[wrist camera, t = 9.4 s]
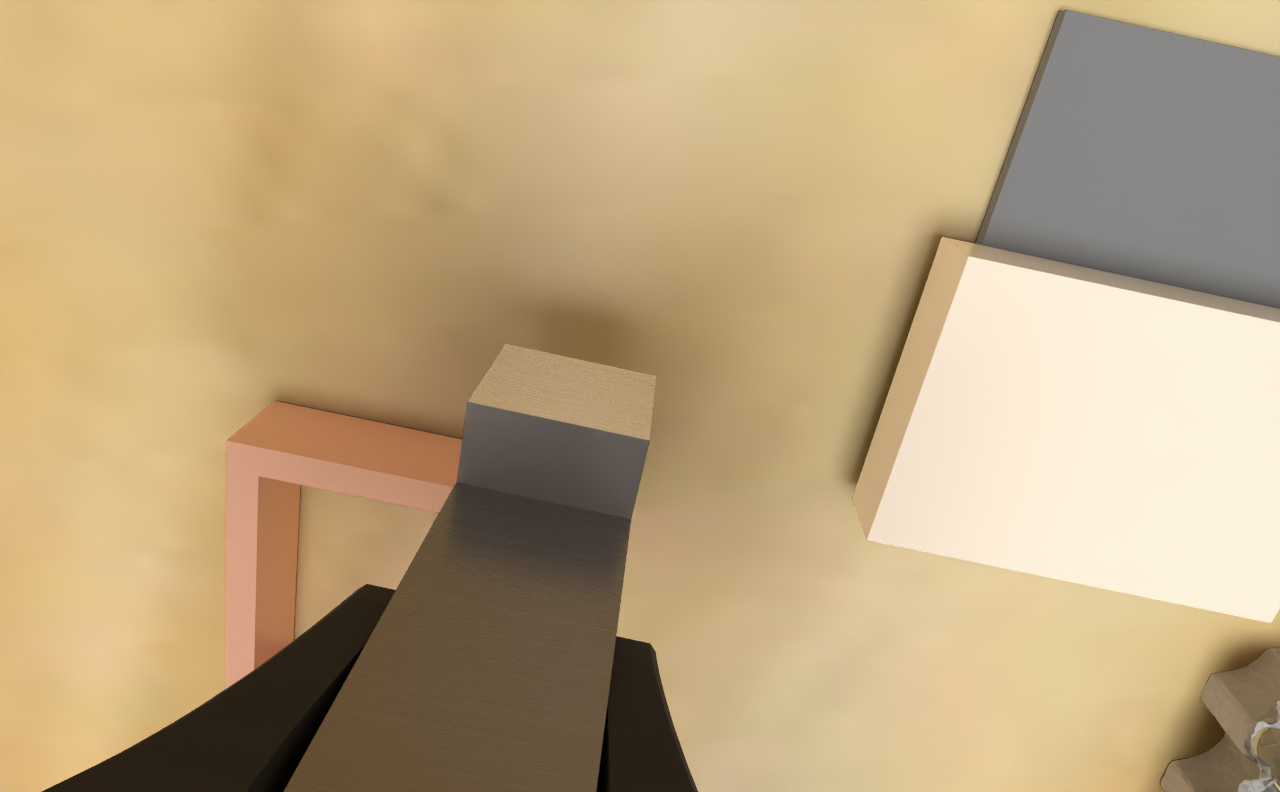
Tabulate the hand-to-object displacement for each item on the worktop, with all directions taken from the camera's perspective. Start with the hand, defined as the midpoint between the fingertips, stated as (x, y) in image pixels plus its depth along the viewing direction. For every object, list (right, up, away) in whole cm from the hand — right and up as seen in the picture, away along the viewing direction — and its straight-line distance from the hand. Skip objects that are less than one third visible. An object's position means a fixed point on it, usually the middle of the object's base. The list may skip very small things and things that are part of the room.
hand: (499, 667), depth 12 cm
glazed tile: (+8, +4, +7) cm, 12 cm away
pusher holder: (-6, -1, +12) cm, 13 cm away
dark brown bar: (0, +2, +5) cm, 5 cm away
